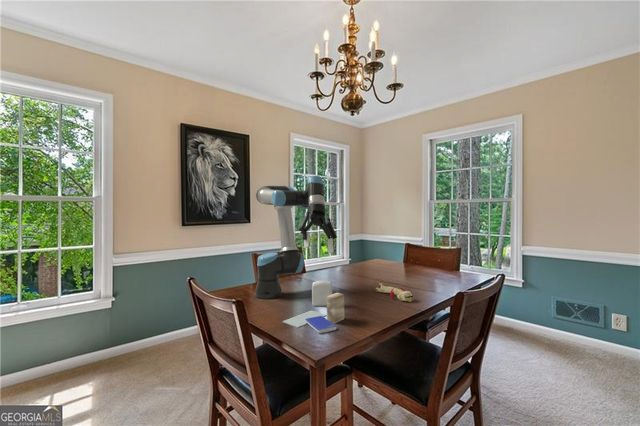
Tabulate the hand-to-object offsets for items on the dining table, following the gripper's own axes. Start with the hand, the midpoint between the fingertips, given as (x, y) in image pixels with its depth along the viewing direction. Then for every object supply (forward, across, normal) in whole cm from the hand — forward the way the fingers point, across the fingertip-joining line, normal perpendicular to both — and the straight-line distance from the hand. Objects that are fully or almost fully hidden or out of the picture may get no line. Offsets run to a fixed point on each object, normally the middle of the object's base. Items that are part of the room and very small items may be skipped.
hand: (319, 250), depth 130 cm
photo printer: (+18, +22, +26) cm, 38 cm away
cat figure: (+14, +60, +9) cm, 62 cm away
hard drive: (+30, +5, +8) cm, 32 cm away
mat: (+26, +5, +18) cm, 32 cm away
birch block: (+27, +15, +8) cm, 32 cm away
